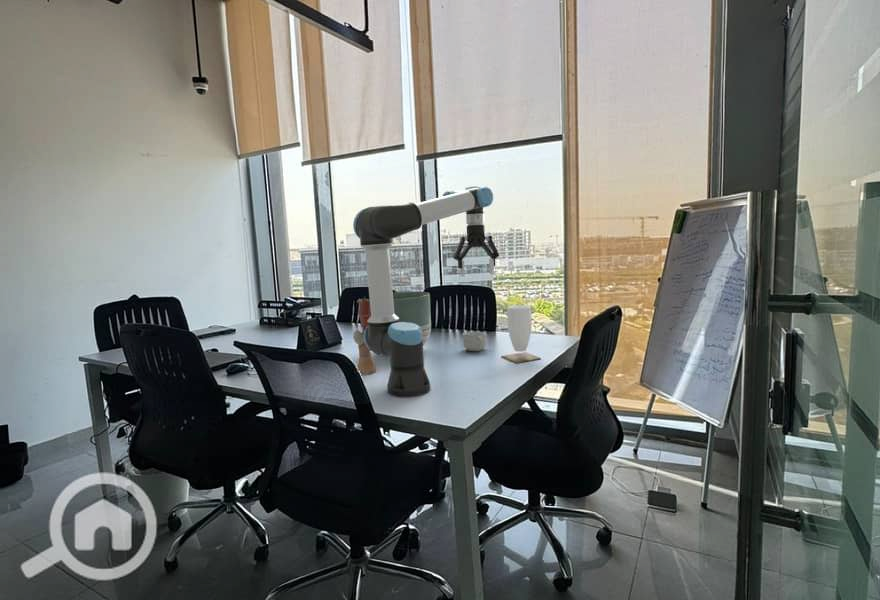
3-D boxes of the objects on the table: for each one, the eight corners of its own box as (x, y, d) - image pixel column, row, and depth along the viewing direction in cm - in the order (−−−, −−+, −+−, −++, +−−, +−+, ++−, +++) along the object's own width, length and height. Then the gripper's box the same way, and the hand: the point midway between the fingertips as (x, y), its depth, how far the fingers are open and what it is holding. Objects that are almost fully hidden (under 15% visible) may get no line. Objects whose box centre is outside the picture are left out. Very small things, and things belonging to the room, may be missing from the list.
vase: (356, 375, 191) (350, 301, 187) (355, 371, 198) (349, 299, 194) (383, 372, 193) (377, 298, 189) (381, 368, 200) (375, 296, 196)
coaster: (515, 363, 196) (515, 362, 196) (501, 357, 207) (501, 355, 207) (540, 359, 201) (540, 358, 200) (525, 353, 212) (525, 352, 212)
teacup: (461, 348, 228) (461, 331, 227) (484, 346, 229) (483, 330, 228) (466, 355, 214) (465, 337, 213) (490, 353, 215) (489, 335, 214)
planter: (408, 342, 246) (405, 290, 242) (444, 350, 226) (441, 293, 222) (365, 353, 228) (360, 297, 224) (399, 362, 208) (395, 300, 205)
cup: (527, 361, 197) (525, 309, 194) (504, 358, 202) (502, 308, 200) (536, 355, 205) (535, 305, 202) (514, 353, 211) (512, 304, 208)
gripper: (451, 225, 194) (453, 277, 196) (506, 223, 202) (507, 273, 205) (444, 226, 201) (446, 276, 203) (498, 223, 209) (499, 272, 212)
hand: (477, 275), depth 204 cm, fingers open, 13 cm apart
